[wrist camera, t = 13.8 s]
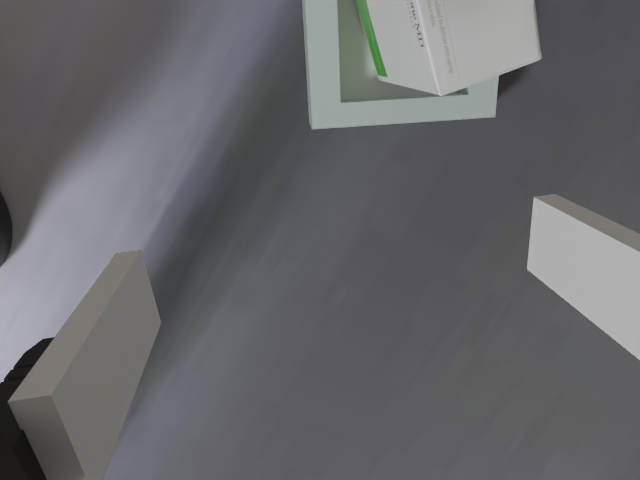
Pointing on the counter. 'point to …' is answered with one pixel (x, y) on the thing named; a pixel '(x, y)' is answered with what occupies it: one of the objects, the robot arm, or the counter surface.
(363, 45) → the square shallow tray
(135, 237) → the counter surface
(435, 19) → the skincare box
